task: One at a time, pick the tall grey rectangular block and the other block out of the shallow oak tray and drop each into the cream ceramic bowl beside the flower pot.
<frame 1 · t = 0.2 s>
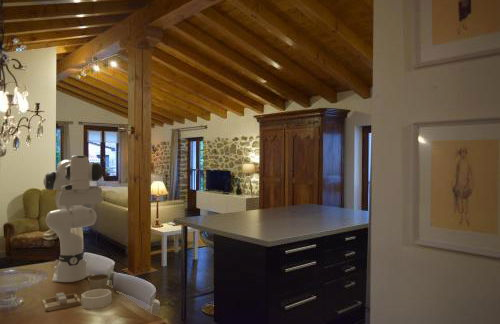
hand: (80, 214, 186), 39 cm above the table, tool pointing down, fingers open, 8 cm apart
tray: (61, 304, 167), on the table
tall grey rectangular block: (60, 301, 169), point 1 cm above the table, touching tray
flower pot: (98, 295, 180), on the table
bowl: (96, 304, 167), on the table
block b: (62, 305, 165), point 1 cm above the table, touching tray
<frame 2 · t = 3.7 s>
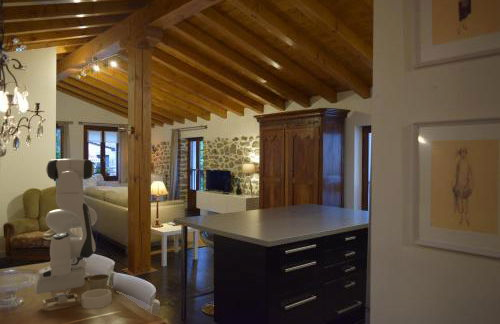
hand: (60, 299, 169), 2 cm above the table, tool pointing down, fingers closed on tall grey rectangular block, 3 cm apart
tall grey rectangular block: (60, 301, 169), point 1 cm above the table, touching gripper, tray
everything else where it was.
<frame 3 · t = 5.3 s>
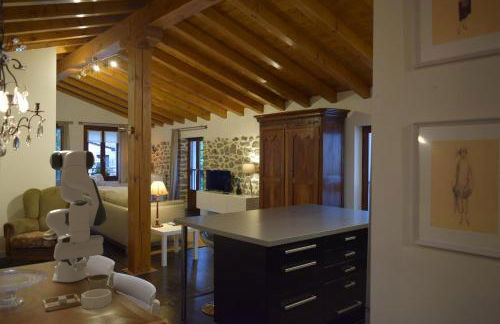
hand: (79, 267, 168), 17 cm above the table, tool pointing down, fingers closed on tall grey rectangular block, 3 cm apart
tall grey rectangular block: (79, 270, 167), point 16 cm above the table, tilted 7°, touching gripper
everything else where it was.
when the fingers open (7 cm above the table, at t = 7.0 s): tall grey rectangular block drops 5 cm, resting on bowl.
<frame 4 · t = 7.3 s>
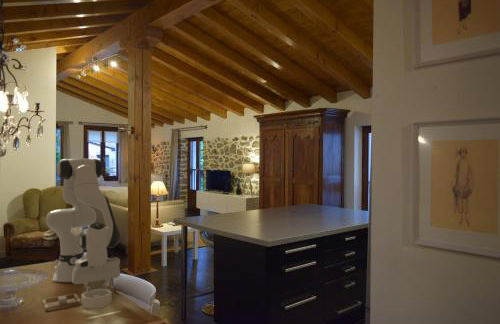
hand: (96, 290, 168), 7 cm above the table, tool pointing down, fingers open, 5 cm apart
tall grey rectangular block: (96, 303, 167), point 1 cm above the table, touching bowl
everything else where it was.
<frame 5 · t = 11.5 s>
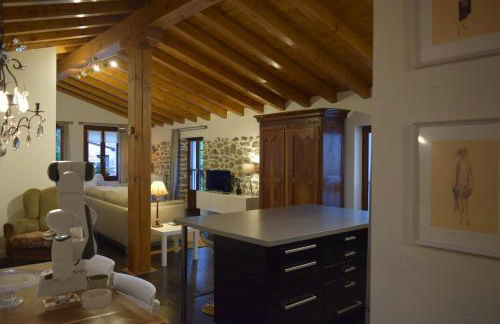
hand: (62, 302, 165), 2 cm above the table, tool pointing down, fingers closed on block b, 3 cm apart
block b: (62, 305, 165), point 1 cm above the table, touching gripper, tray
everything else where it was.
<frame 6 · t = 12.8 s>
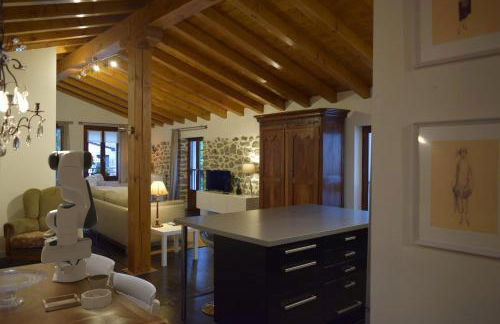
hand: (66, 270, 165), 16 cm above the table, tool pointing down, fingers closed on block b, 3 cm apart
block b: (66, 272, 165), point 15 cm above the table, touching gripper
everything else where it was.
when the fingers open (7 cm above the table, at t = 14.6 s): block b drops 1 cm, resting on tall grey rectangular block.
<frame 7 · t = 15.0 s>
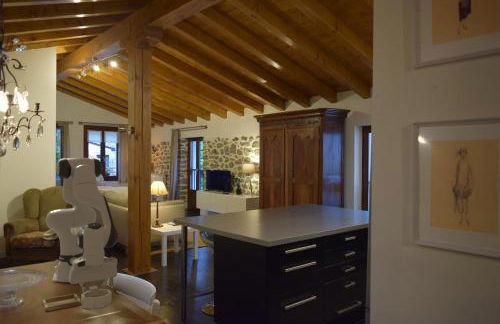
hand: (93, 290, 168), 7 cm above the table, tool pointing down, fingers open, 7 cm apart
tall grey rectangular block: (96, 303, 167), point 1 cm above the table, touching bowl, block b
block b: (93, 295, 168), point 4 cm above the table, touching tall grey rectangular block
everything else where it was.
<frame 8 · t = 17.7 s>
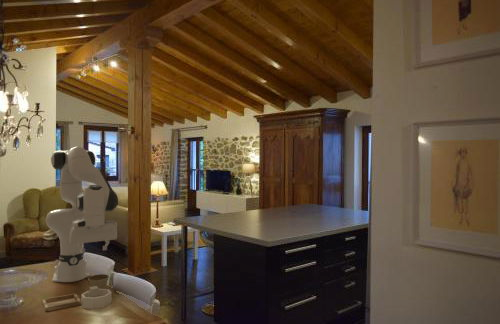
hand: (93, 251, 168), 24 cm above the table, tool pointing down, fingers open, 8 cm apart
nothing on the table moved.
at the end: tall grey rectangular block inside the target area on the bowl (0.4 cm from its centre), point 0.8 cm above the bowl's base; block b inside the target area on the bowl (1.1 cm from its centre), point 4.3 cm above the bowl's base; the gripper is holding nothing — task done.
